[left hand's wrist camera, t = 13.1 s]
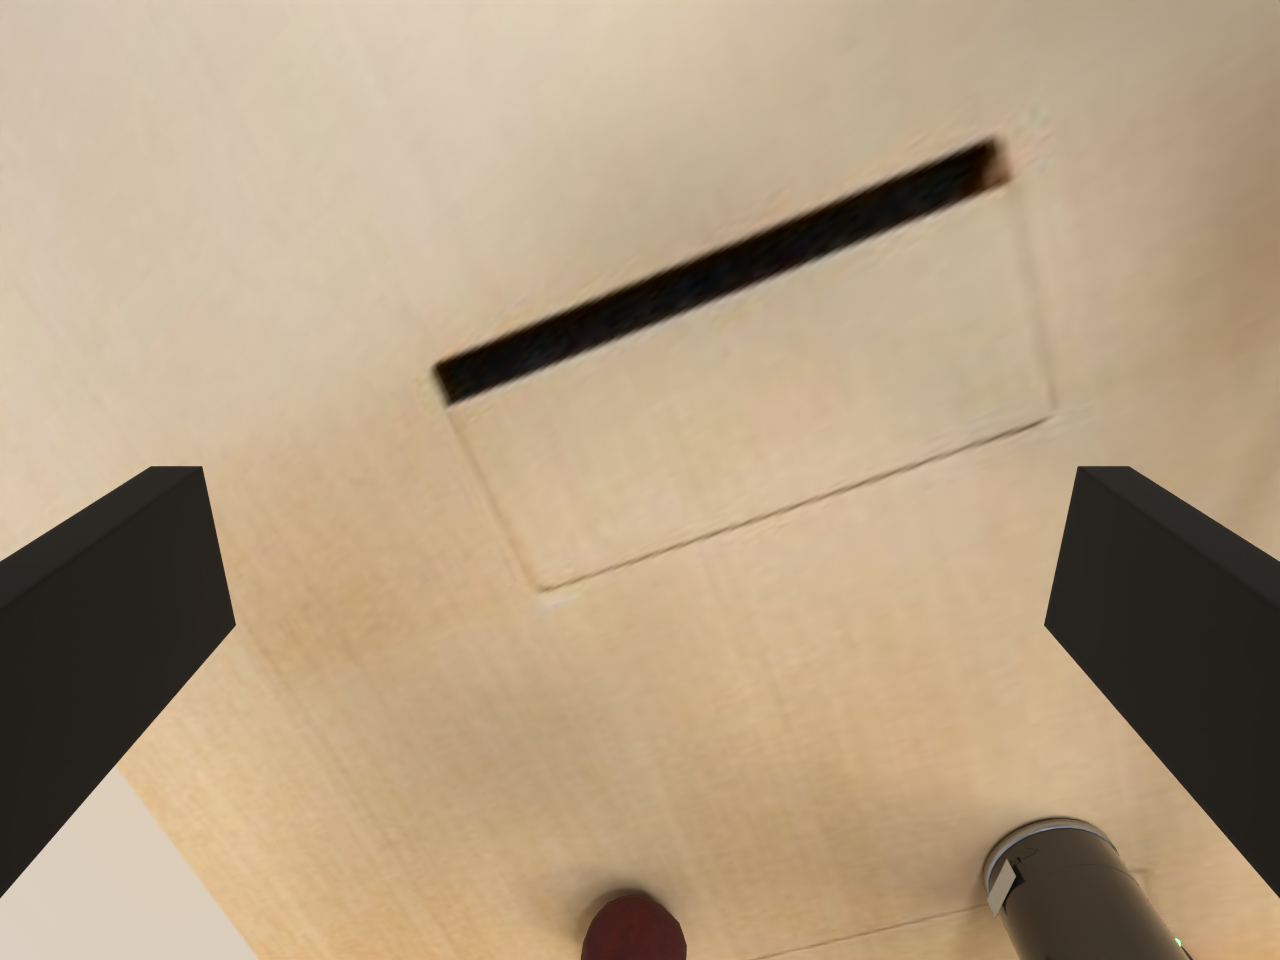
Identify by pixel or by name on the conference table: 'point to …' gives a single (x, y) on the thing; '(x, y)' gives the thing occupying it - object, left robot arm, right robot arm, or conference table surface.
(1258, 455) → the conference table surface
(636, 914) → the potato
